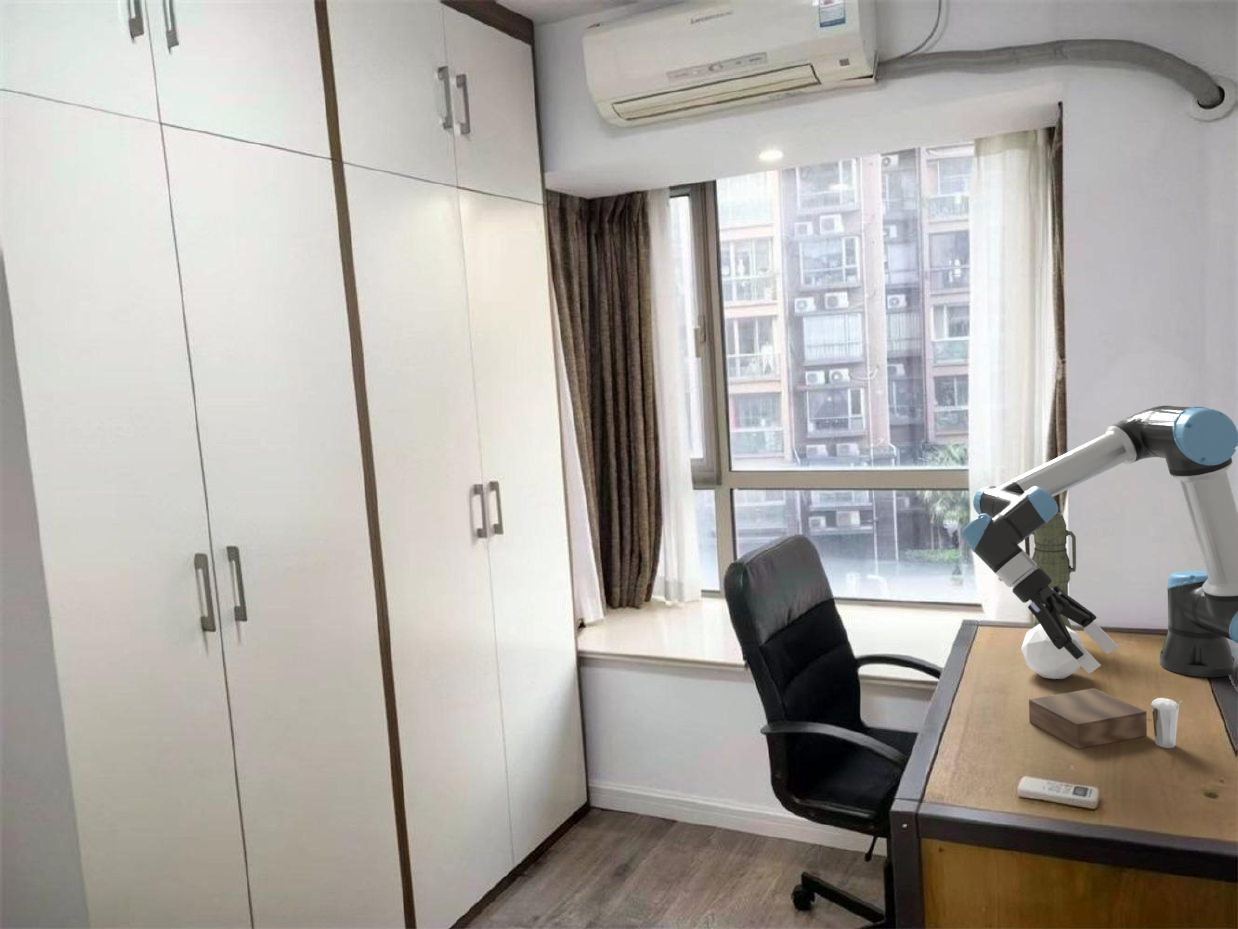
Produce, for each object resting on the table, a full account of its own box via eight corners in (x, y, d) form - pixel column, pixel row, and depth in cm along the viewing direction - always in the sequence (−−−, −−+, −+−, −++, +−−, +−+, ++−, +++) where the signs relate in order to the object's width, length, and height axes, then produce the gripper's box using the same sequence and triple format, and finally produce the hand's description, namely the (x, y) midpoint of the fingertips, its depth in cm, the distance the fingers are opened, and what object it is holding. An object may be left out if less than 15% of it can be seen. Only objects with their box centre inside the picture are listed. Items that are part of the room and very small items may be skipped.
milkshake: (1174, 753, 169) (1174, 703, 168) (1146, 743, 174) (1146, 694, 173) (1188, 747, 171) (1188, 697, 170) (1160, 738, 176) (1160, 689, 175)
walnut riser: (1094, 710, 191) (1094, 688, 191) (1146, 735, 178) (1146, 711, 177) (1029, 722, 188) (1029, 699, 187) (1077, 748, 174) (1077, 724, 174)
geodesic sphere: (1090, 669, 199) (1085, 612, 206) (1023, 666, 204) (1020, 609, 211) (1085, 689, 211) (1080, 633, 217) (1021, 685, 216) (1019, 631, 222)
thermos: (1026, 638, 240) (1023, 510, 236) (1076, 640, 235) (1073, 510, 231) (1027, 648, 232) (1024, 516, 228) (1078, 651, 227) (1076, 516, 223)
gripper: (1030, 576, 198) (1105, 652, 189) (990, 602, 179) (1071, 689, 171) (1056, 554, 194) (1134, 632, 185) (1017, 580, 175) (1102, 667, 167)
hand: (1104, 659), depth 178 cm, fingers open, 13 cm apart
